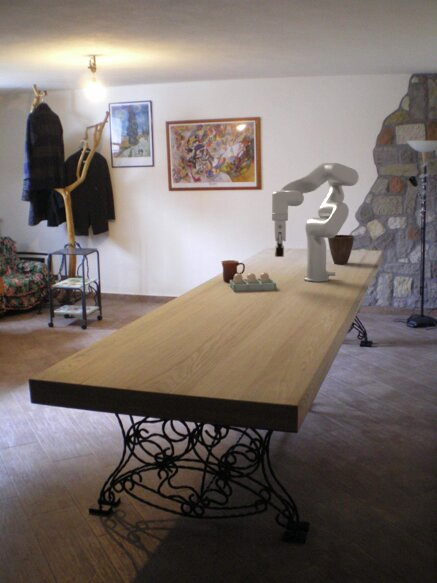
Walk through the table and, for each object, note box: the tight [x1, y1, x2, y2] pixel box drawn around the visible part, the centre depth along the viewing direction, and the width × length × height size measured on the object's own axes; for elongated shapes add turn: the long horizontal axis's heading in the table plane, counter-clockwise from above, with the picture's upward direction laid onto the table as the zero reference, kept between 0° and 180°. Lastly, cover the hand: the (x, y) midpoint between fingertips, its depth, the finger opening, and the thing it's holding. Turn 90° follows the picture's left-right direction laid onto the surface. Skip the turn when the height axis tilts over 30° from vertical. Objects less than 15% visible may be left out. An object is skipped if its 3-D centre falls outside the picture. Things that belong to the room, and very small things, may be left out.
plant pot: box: [327, 234, 355, 265], centre depth 381 cm, size 15×15×16 cm
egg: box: [274, 244, 285, 258], centre depth 316 cm, size 4×4×6 cm
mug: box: [221, 259, 246, 283], centre depth 336 cm, size 12×9×10 cm
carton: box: [229, 272, 277, 293], centre depth 318 cm, size 20×14×7 cm
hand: (279, 255), depth 317 cm, fingers closed on egg, 4 cm apart
